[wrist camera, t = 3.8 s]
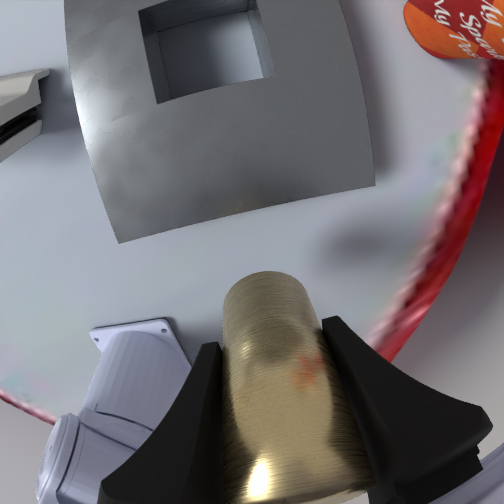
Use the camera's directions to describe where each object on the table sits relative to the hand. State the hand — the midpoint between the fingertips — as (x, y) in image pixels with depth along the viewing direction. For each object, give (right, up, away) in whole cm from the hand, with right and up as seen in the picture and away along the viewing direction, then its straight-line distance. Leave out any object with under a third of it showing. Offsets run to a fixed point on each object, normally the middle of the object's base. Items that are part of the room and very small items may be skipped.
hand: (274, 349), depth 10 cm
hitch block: (-3, +15, +3) cm, 16 cm away
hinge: (-24, +15, +2) cm, 28 cm away
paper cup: (+13, +21, +2) cm, 25 cm away
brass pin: (0, +1, +2) cm, 3 cm away
